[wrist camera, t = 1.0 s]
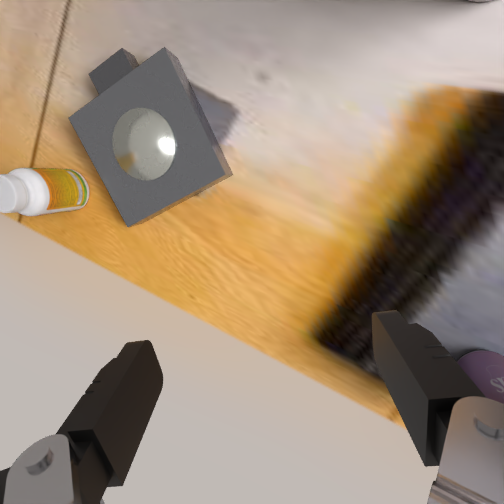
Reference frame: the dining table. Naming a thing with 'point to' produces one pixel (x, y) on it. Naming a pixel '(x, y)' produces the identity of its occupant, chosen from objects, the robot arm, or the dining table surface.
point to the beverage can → (485, 372)
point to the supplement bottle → (42, 191)
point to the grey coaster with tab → (148, 135)
